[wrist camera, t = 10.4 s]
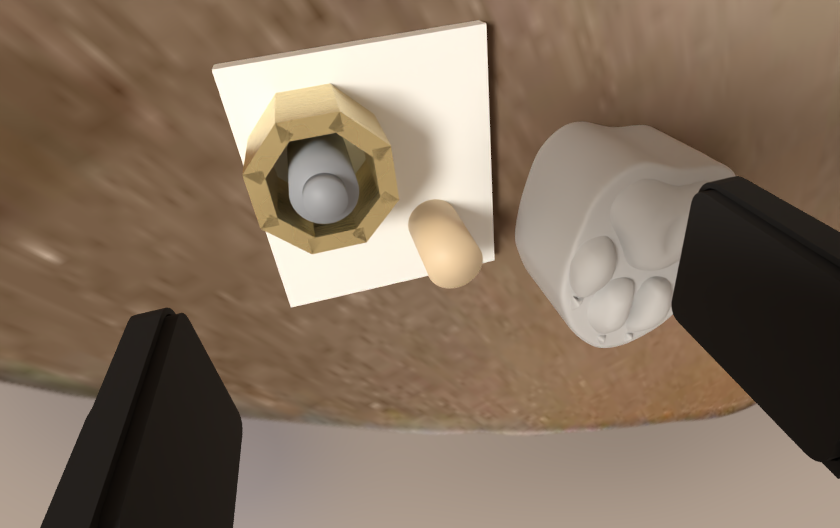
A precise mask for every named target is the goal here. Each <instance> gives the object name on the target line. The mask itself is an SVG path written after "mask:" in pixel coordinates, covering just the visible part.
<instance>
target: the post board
mask: <svg viewBox="0 0 840 528" xmlns="http://www.w3.org/2000/svg"><path fill="white" fill-rule="evenodd" d="M212 72H213V75H214V78H215V81H216V84H217V87H218V90H219V93H220V96H221V99H222V102H223V105H224V108H225V111H226V114H227V117H228V120H229V123H230V126H231V129H232V132H233V135H234V138H235V141H236V144H237V147H238V150H239V153H240V156H241V159H242V162H243V165H244V161H245V154H246V147H247V140H248V137H249V135H250V134H251V132H252V130H253V129H254V127H255V125H256V124H257V122H258V121H259V119H260V117H261V116H262V114H263V112H264V111H265V109H266V108H267V106H268V104H269V103H270V101H271V99H272V98H273V96H274V95H275V93H278V92H284V91H290V90H295V89H301V88H307V87H312V86H318V85H324V84H329V83H331V84H332V85H333V86H335V87H336V88H338V89H339V90H340V91H342V92H343V93H345V94H346V95H348V96H349V97H350V98H352V99H353V100H355V101H356V102H358V103H359V104H360V105H362V106H363V107H365V108H366V109H368V110H369V111H370V112H372V113H373V114H374V115H375V116H376V118H377V120H378V122H379V124H380V126H381V128H382V130H383V132H384V133H385V135H386V137H387V139H388V141H389V143H390V145H391V149H392V155H393V162H394V169H395V175H396V182H397V188H398V195H399V201H398V202H397V204H396V205H395V206H394V207H393V209H392V210H391V211H390V213H389V214H388V215H387V217H386V218H385V219H384V221H383V222H382V223H381V224H380V226H379V227H378V228H377V230H376V231H375V232H374V234H373V235H372V236H371V237H370V239H369V240H368V241H367V242H366V243H362V244H357V245H353V246H348V247H344V248H339V249H335V250H330V251H325V252H321V253H316V254H310V253H308V252H306V251H304V250H302V249H300V248H298V247H296V246H294V245H292V244H290V243H288V242H286V241H284V240H282V239H280V238H278V237H276V236H274V235H272V234H270V233H268V232H266V234H267V237H268V240H269V243H270V246H271V249H272V252H273V255H274V258H275V261H276V264H277V267H278V270H279V273H280V276H281V279H282V282H283V285H284V288H285V291H286V294H287V297H288V300H289V303H290V306H291V307H295V306H299V305H303V304H308V303H312V302H316V301H321V300H325V299H329V298H334V297H338V296H342V295H347V294H351V293H355V292H360V291H364V290H368V289H373V288H377V287H381V286H386V285H390V284H394V283H398V282H403V281H407V280H411V279H416V278H420V277H424V276H429V278H430V279H431V280H432V282H433V283H435V284H436V285H438V286H440V287H443V288H457V287H461V286H463V285H465V284H467V283H469V282H470V281H471V280H473V279H474V278H475V277H476V276H477V274H478V273H479V271H480V269H481V267H482V263H485V262H489V261H494V232H493V203H492V174H491V145H490V116H489V87H488V57H487V28H486V23H484V22H482V21H480V20H477V21H471V22H465V23H459V24H453V25H447V26H441V27H435V28H429V29H423V30H417V31H411V32H405V33H399V34H393V35H387V36H382V37H376V38H370V39H364V40H358V41H352V42H346V43H340V44H334V45H328V46H322V47H316V48H310V49H304V50H298V51H292V52H286V53H280V54H274V55H268V56H262V57H256V58H250V59H244V60H238V61H232V62H226V63H220V64H214V66H213V68H212ZM365 160H366V158H365V152H364V151H363V150H362V149H360V148H358V147H357V146H355V145H354V144H352V143H351V142H349V141H348V140H346V139H345V138H343V137H342V136H340V135H338V134H337V133H332V134H326V135H321V136H316V137H311V138H305V139H300V140H295V141H289V143H288V144H287V146H286V147H285V149H284V150H283V152H282V153H281V155H280V156H279V158H278V159H277V161H276V163H275V164H274V166H275V170H276V173H277V177H279V178H280V179H282V180H284V181H286V182H288V184H289V198H290V202H291V204H292V206H293V208H294V209H295V211H296V212H297V213H298V214H299V215H300V216H302V217H303V218H305V219H306V220H308V221H311V222H314V223H319V224H328V223H334V222H337V221H339V220H341V219H343V218H345V217H346V216H348V215H349V214H350V213H351V212H352V210H353V209H354V208H355V206H356V204H357V201H358V198H359V186H358V182H357V179H356V176H355V174H356V172H357V171H358V170H359V168H360V167H361V166H362V164H363V163H364V161H365Z"/></svg>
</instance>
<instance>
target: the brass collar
mask: <svg viewBox="0 0 840 528" xmlns="http://www.w3.org/2000/svg"><path fill="white" fill-rule="evenodd" d="M332 133H337V134H338V135H340V136H342V137H343V138H345V139H346V140H348V141H349V142H351V143H352V144H354V145H355V146H357V147H358V148H360V149H362V150H363V151H364V152H365V158H366V160H365V161H364V163H363V164H362V166H361V167H360V168H359V170H358V171H357V172H356V174H355V176H356V179H357V182H358V186H359V198H358V201H357V204H356V206H355V208H354V209H353V210H352V212H351V213H350V214H349V215H348V216H346V217H345V218H343V219H341V220H339V221H337V222H334V223H328V224H319V223H314V222H311V221H308V220H306V219H305V218H303V217H302V216H300V215H299V214H298V213H297V212H296V211H295V209H294V208H293V206H292V204H291V202H290V198H289V184H288V182H286V181H284V180H282V179H280V178H279V177H277V173H276V170H275V166H274V164H275V163H276V161H277V159H278V158H279V156H280V155H281V153H282V152H283V150H284V149H285V147H286V146H287V144H288V143H289V141H295V140H300V139H305V138H311V137H316V136H321V135H326V134H332ZM242 175H243V178H244V181H245V184H246V187H247V190H248V193H249V196H250V199H251V202H252V205H253V208H254V211H255V214H256V217H257V220H258V222H259V225H260V228H261V229H262V230H264V231H266V232H268V233H270V234H272V235H274V236H276V237H278V238H280V239H282V240H284V241H286V242H288V243H290V244H292V245H294V246H296V247H298V248H300V249H302V250H304V251H306V252H308V253H310V254H316V253H321V252H325V251H330V250H335V249H339V248H344V247H348V246H353V245H357V244H362V243H366V242H367V241H368V240H369V239H370V237H371V236H372V235H373V234H374V232H375V231H376V230H377V228H378V227H379V226H380V224H381V223H382V222H383V221H384V219H385V218H386V217H387V215H388V214H389V213H390V211H391V210H392V209H393V207H394V206H395V205H396V204H397V202H398V201H399V195H398V188H397V182H396V175H395V169H394V162H393V155H392V149H391V145H390V143H389V141H388V139H387V137H386V135H385V133H384V132H383V130H382V128H381V126H380V124H379V122H378V120H377V118H376V116H375V115H374V114H373V113H372V112H370V111H369V110H368V109H366V108H365V107H363V106H362V105H360V104H359V103H358V102H356V101H355V100H353V99H352V98H350V97H349V96H348V95H346V94H345V93H343V92H342V91H340V90H339V89H338V88H336V87H335V86H333V85H332V84H331V83H329V84H324V85H318V86H312V87H307V88H301V89H295V90H290V91H284V92H278V93H275V95H274V96H273V98H272V99H271V101H270V103H269V104H268V106H267V108H266V109H265V111H264V112H263V114H262V116H261V117H260V119H259V121H258V122H257V124H256V125H255V127H254V129H253V130H252V132H251V134H250V135H249V137H248V140H247V147H246V154H245V161H244V167H243V174H242Z"/></svg>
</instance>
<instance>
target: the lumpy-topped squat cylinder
mask: <svg viewBox="0 0 840 528" xmlns="http://www.w3.org/2000/svg"><path fill="white" fill-rule="evenodd" d="M734 176H736V175H735V174H734V172H733V171H732V170H731V169H730V168H729V167H727V166H726V165H724V164H722V163H720V162H718V161H716V160H714V159H712V158H710V157H709V156H707V155H705V154H703V153H701V152H700V151H698V150H696V149H694V148H692V147H690V146H688V145H686V144H684V143H682V142H680V141H678V140H676V139H674V138H672V137H670V136H669V135H667V134H665V133H663V132H661V131H659V130H657V129H655V128H653V127H651V126H647V125H633V126H625V127H607V126H602V125H598V124H595V123H590V122H573V123H570V124H567V125H565V126H563V127H562V128H560V129H559V130H557V131H556V132H555V133H553V134H552V135H551V136H550V137H549V138H548V139H547V140H546V142H545V143H544V144H543V145H542V147H541V148H540V150H539V152H538V153H537V155H536V157H535V159H534V162H533V164H532V167H531V170H530V173H529V176H528V179H527V182H526V185H525V188H524V191H523V194H522V198H521V202H520V206H519V211H518V216H517V221H516V229H515V241H516V245H517V249H518V252H519V254H520V257H521V260H522V262H523V264H524V266H525V268H526V270H527V271H528V273H529V274H530V275H531V277H532V278H533V279H534V281H535V282H536V283H537V285H538V286H539V287H540V289H541V290H542V291H543V293H544V294H545V296H546V297H547V298H548V300H549V301H550V302H551V304H552V305H553V306H554V308H555V309H556V310H557V312H558V313H559V314H560V316H561V317H562V318H563V320H564V321H565V322H566V324H567V325H568V326H569V328H570V329H571V330H572V331H573V332H574V333H575V334H576V335H577V336H578V337H579V338H581V339H582V340H583V341H585V342H587V343H588V344H590V345H592V346H595V347H599V348H609V347H616V346H620V345H623V344H626V343H629V342H631V341H633V340H635V339H637V338H639V337H641V336H643V335H645V334H646V333H648V332H650V331H652V330H653V329H655V328H656V327H658V326H659V325H661V324H662V323H663V322H664V321H666V320H667V319H668V318H669V317H670V316H671V315H673V312H672V307H671V302H672V297H673V292H674V287H675V282H676V277H677V272H678V267H679V262H680V257H681V252H682V247H683V242H684V237H685V231H686V226H687V221H688V216H689V211H690V206H691V201H692V199H693V197H694V195H695V194H697V193H698V192H699V189H700V188H701V187H702V185H704V184H705V183H708V182H712V181H716V180H721V179H725V178H729V177H734Z"/></svg>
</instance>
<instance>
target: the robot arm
mask: <svg viewBox="0 0 840 528" xmlns="http://www.w3.org/2000/svg"><path fill="white" fill-rule="evenodd" d="M671 307H672V312H673V315H674V317H675V318H676V320H677V321H678V322H679V323H680V324H681V325H682V326H683V327H684V328H685V329H686V331H687V332H688V333H689V334H690V335H691V336H692V337H693V338H694V339H695V340H696V341H697V342H698V343H699V344H700V345H701V346H702V347H703V348H704V349H705V350H706V351H707V352H708V353H709V354H710V355H711V356H712V357H713V358H714V359H715V361H716V362H717V363H718V364H719V365H720V366H721V367H722V368H723V369H724V370H725V371H726V372H727V373H728V374H729V375H730V376H731V377H732V378H733V379H734V380H735V381H736V382H737V383H738V384H739V385H740V386H741V387H742V388H743V389H744V391H745V392H746V393H747V394H748V395H749V396H750V397H751V398H752V399H753V400H754V401H755V402H756V403H757V404H758V405H759V406H760V407H761V408H762V409H763V410H764V411H765V412H766V413H767V414H768V415H769V416H770V417H771V418H772V419H773V420H774V421H775V423H776V424H777V425H778V426H779V427H780V428H781V429H782V430H783V431H784V432H785V433H786V434H787V435H788V436H789V437H790V438H791V439H792V440H793V441H794V442H795V443H796V444H797V445H798V446H799V447H800V448H801V449H802V450H803V452H804V453H806V454H807V455H808V456H809V457H810V458H812V459H813V460H815V461H818V462H822V463H823V464H824V465H825V466H826V467H827V468H828V469H829V470H830V471H831V472H832V473H833V474H834V475H835V476H836V477H837V478H838V479H839V478H840V232H838V231H837V230H835V229H833V228H831V227H830V226H828V225H826V224H824V223H822V222H821V221H819V220H817V219H815V218H814V217H812V216H810V215H808V214H807V213H805V212H803V211H801V210H799V209H798V208H796V207H794V206H792V205H791V204H789V203H787V202H785V201H783V200H782V199H780V198H778V197H776V196H775V195H773V194H771V193H769V192H768V191H766V190H764V189H762V188H760V187H759V186H757V185H755V184H753V183H752V182H750V181H748V180H746V179H744V178H742V177H739V176H734V177H729V178H725V179H721V180H716V181H712V182H708V183H705V184H704V185H702V187H701V188H700V189H699V192H698V193H697V194H695V195H694V197H693V199H692V201H691V206H690V211H689V216H688V221H687V226H686V231H685V237H684V242H683V247H682V252H681V257H680V262H679V267H678V272H677V277H676V282H675V287H674V292H673V297H672V302H671ZM241 442H242V421H241V417H240V414H239V412H238V410H237V408H236V406H235V404H234V402H233V401H232V399H231V397H230V395H229V393H228V391H227V389H226V388H225V386H224V384H223V382H222V380H221V378H220V376H219V375H218V373H217V371H216V369H215V367H214V365H213V363H212V362H211V360H210V358H209V356H208V354H207V352H206V350H205V348H204V347H203V345H202V343H201V341H200V339H199V337H198V335H197V334H196V332H195V330H194V328H193V326H192V324H191V322H190V321H189V319H188V317H187V316H186V315H185V314H184V313H179V314H175V312H174V311H173V310H172V309H170V308H163V309H159V310H155V311H150V312H146V313H142V314H137V315H134V316H132V317H131V318H130V319H129V321H128V323H127V325H126V328H125V330H124V333H123V335H122V338H121V340H120V342H119V345H118V347H117V350H116V352H115V354H114V357H113V359H112V362H111V364H110V366H109V369H108V371H107V374H106V376H105V378H104V381H103V383H102V386H101V388H100V390H99V393H98V395H97V398H96V400H95V402H94V405H93V407H92V409H91V411H90V413H89V414H88V416H87V418H86V420H85V422H84V425H83V427H82V429H81V432H80V434H79V437H78V439H77V441H76V444H75V446H74V449H73V451H72V453H71V456H70V458H69V461H68V463H67V465H66V468H65V470H64V472H63V475H62V477H61V480H60V482H59V484H58V487H57V489H56V491H55V494H54V496H53V499H52V501H51V503H50V506H49V508H48V511H47V513H46V515H45V518H44V520H43V523H42V525H41V527H40V528H233V522H234V512H235V502H236V492H237V482H238V472H239V461H240V452H241Z"/></svg>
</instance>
